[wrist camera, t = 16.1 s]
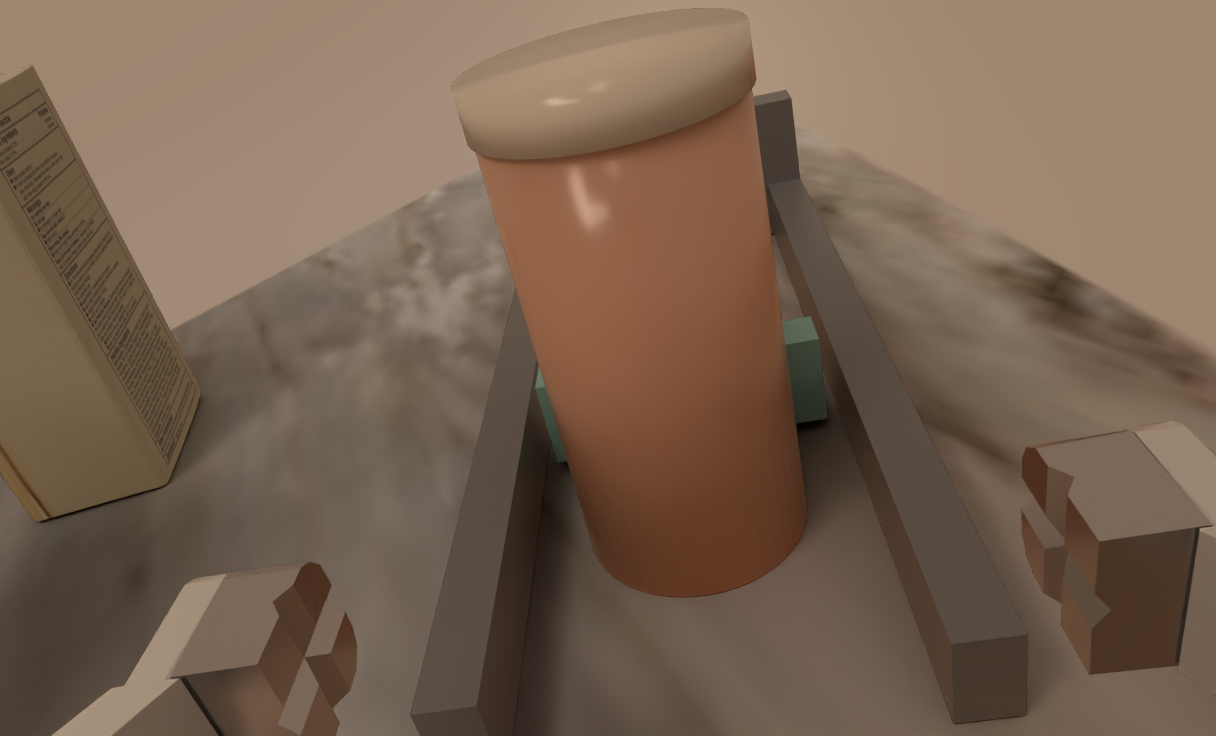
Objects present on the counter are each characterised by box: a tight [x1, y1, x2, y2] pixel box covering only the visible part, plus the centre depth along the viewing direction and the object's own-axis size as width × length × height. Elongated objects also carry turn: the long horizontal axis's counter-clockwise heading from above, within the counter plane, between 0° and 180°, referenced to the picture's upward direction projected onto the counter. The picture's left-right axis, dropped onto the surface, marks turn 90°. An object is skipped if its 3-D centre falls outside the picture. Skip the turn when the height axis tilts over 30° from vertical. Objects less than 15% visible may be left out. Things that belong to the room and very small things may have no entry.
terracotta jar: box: [451, 8, 807, 597], centre depth 19 cm, size 5×5×11 cm
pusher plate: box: [535, 316, 828, 463], centre depth 26 cm, size 7×7×2 cm
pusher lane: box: [410, 90, 1028, 736], centre depth 25 cm, size 23×10×5 cm, turn 179°
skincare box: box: [0, 65, 201, 522], centre depth 27 cm, size 6×4×12 cm
